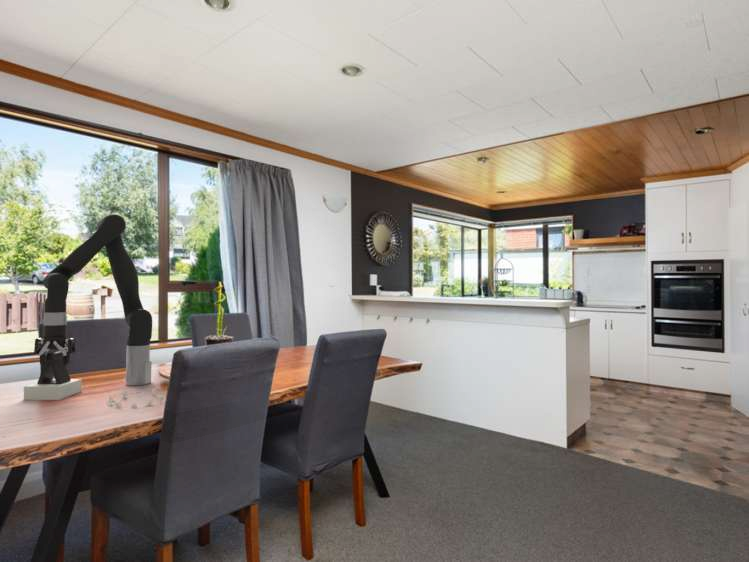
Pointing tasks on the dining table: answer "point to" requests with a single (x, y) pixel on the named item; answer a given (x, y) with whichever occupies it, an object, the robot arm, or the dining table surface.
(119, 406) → the game piece set
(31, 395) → the cream block
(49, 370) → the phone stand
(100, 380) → the dining table surface
